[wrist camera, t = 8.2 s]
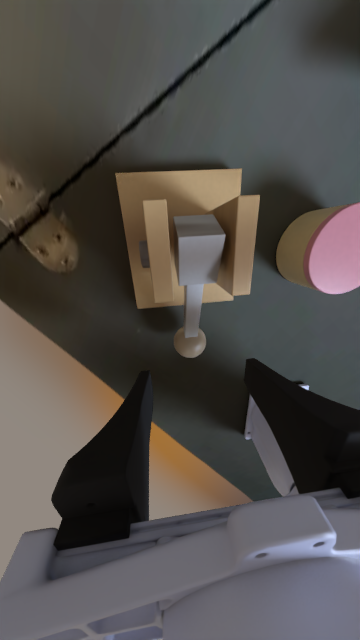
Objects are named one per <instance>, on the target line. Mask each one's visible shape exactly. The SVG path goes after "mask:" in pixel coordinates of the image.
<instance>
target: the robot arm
mask: <svg viewBox="0 0 360 640" xmlns="http://www.w3.org/2000/svg"><path fill="white" fill-rule="evenodd" d="M244 381H245V384H246V386H247V388H248V391H249V393H250V397H249V404H248V411H247V419H246V426H245V433H244V437H245V438H246V439H252V440H253V442H254V444H255V446H256V448H257V451H258V453H259V455H260V457H261V459H262V461H263V464H264V466H265V468H266V470H267V472H268V474H269V476H270V479H271V481H272V483H273V484H274V486H275V487H276V489H277V490H278V491H279V493H280V494H281V495H282V496H283V497H278V498H273V499H267V500H261V501H255V502H250V503H247V504H242V505H236V506H230V507H225V508H219V509H213V510H207V511H201V512H196V513H190V514H184V515H179V516H173V517H167V518H161V519H155V520H150V521H149V440H150V430H151V421H152V412H153V388H152V382H151V375H150V370H147V371H141V372H140V373H139V376H138V378H137V380H136V382H135V384H134V386H133V387H132V389H131V391H130V392H129V394H128V396H127V397H126V399H125V400H124V402H123V404H122V405H121V406H120V408H119V409H118V410H117V412H116V413H115V414H114V416H113V417H112V418H111V419H110V420H109V422H108V423H107V424H106V425H105V426H104V427H103V428H102V430H101V431H100V432H99V433H98V434H97V435H96V436H95V437H94V438H93V439H92V440H91V441H90V442H89V443H88V444H87V445H85V446H84V447H83V448H82V449H81V450H80V451H79V452H78V453H76V454H75V455H74V456H73V457H72V458H70V459H69V460H68V462H67V464H66V466H65V467H64V469H63V471H62V473H61V476H60V478H59V480H58V482H57V485H56V487H55V490H54V492H53V494H52V499H51V501H52V503H53V506H54V507H55V509H56V510H57V511H58V513H59V514H60V516H61V517H62V521H61V524H60V527H59V530H58V529H56V528H46V529H40V530H34V531H29V532H25V533H24V534H22V536H21V538H20V540H19V543H18V545H17V547H16V549H15V551H14V553H13V555H12V558H11V560H10V562H9V564H8V566H7V569H6V571H5V573H4V575H3V577H2V579H1V582H0V640H158V639H163V640H360V410H357V409H354V408H351V407H348V406H345V405H342V404H340V403H337V402H334V401H332V400H329V399H327V398H324V397H322V396H320V395H317V394H315V393H313V392H311V391H309V390H308V389H309V386H308V385H307V384H299V385H297V384H295V383H293V382H292V381H290V380H288V379H286V378H285V377H283V376H281V375H280V374H278V373H277V372H275V371H273V370H272V369H270V368H269V367H267V366H266V365H264V364H263V363H261V362H260V361H258V360H256V359H255V358H252V359H246V368H245V376H244Z"/></svg>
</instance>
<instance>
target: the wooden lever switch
mask: <svg viewBox="0 0 360 640" xmlns="http://www.w3.org/2000/svg"><path fill="white" fill-rule="evenodd" d="M115 175H116V181H117V187H118V193H119V199H120V205H121V211H122V217H123V223H124V230H125V236H126V242H127V248H128V254H129V260H130V266H131V272H132V278H133V284H134V290H135V296H136V303H137V308H138V309H142V308H153V307H164V306H175V305H184V286H179V284H178V279H177V273H176V268H175V261H174V230H173V217H174V216H192V215H210V214H213V215H214V216H215V218H216V220H217V221H218V223H219V225H220V226H221V228H222V229H223V231H224V233H225V241H224V246H223V251H222V257H221V262H220V268H219V273H218V278H217V283H210V284H204V286H203V294H202V303H208V302H219V301H230V300H233V296H237V295H248V294H250V287H251V277H252V268H253V258H254V249H255V239H256V229H257V220H258V210H259V201H260V195H241V196H240V190H241V175H242V169H215V170H187V171H159V172H131V173H116V174H115Z"/></svg>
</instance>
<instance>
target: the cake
mask: <svg viewBox="0 0 360 640" xmlns="http://www.w3.org/2000/svg"><path fill="white" fill-rule="evenodd" d="M276 263H277V267H278V270H279V272H280V273H281V275H282V276H283V277H284V278H285V279H287V280H288V281H290V282H293V283H296V284H299V285H302V286H305V287H308V288H312V289H315V290H318V291H321V292H324V293H327V294H341V293H345V292H348V291H351V290H353V289H355V288H357V287H358V286H360V202H359V203H353V204H347V205H342V206H336V207H331V208H325V209H319V210H314V211H310V212H307V213H305V214H303V215H301V216H300V217H298V218H297V219H295V220H294V221H293V222H292V223H291V224H290V225H289V226H288V227H287V229H286V230H285V232H284V233H283V235H282V237H281V239H280V241H279V244H278V247H277V251H276Z"/></svg>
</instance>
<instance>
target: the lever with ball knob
mask: <svg viewBox="0 0 360 640" xmlns="http://www.w3.org/2000/svg"><path fill="white" fill-rule="evenodd" d="M173 230H174V261H175V268H176V273H177V279H178V284H179V286H184V326H183V327H182V328H180V329H179V330H178V331H177V332H176V334H175V337H174V346H175V349H176V350H177V352H178V353H179V354H180V355H182V356H184V357H187V358H193V357H196V356H198V355H200V354H201V353H202V352H203V350H204V349H205V346H206V337H205V334H204V333H203V331H202V330H201V329H200V328H199V320H200V311H201V303H202V294H203V286H204V284H210V283H217V278H218V273H219V268H220V262H221V257H222V251H223V246H224V241H225V233H224V231H223V229H222V228H221V226H220V225H219V223H218V221H217V220H216V218H215V216H214V215H213V214H210V215H192V216H174V217H173Z"/></svg>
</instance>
